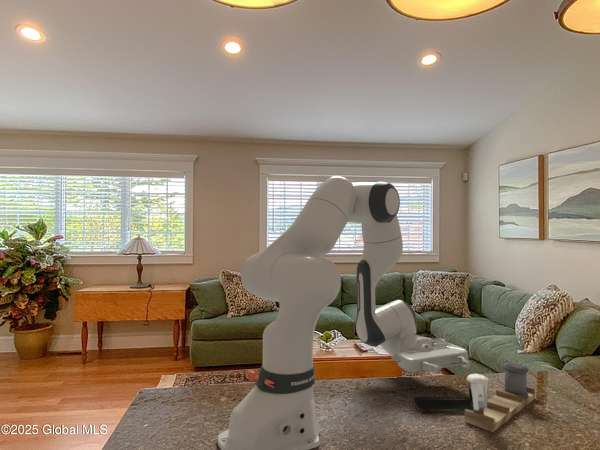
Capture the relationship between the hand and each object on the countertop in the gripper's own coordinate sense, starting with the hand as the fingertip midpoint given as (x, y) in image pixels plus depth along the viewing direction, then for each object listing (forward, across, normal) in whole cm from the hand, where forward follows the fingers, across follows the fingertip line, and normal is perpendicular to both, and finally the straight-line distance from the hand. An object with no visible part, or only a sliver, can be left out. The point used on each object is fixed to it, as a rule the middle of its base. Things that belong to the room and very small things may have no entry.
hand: (453, 368), depth 106 cm
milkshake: (+11, -2, +7) cm, 13 cm away
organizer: (+8, +8, +9) cm, 14 cm away
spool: (+5, +16, +7) cm, 18 cm away
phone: (+2, -4, +9) cm, 10 cm away
